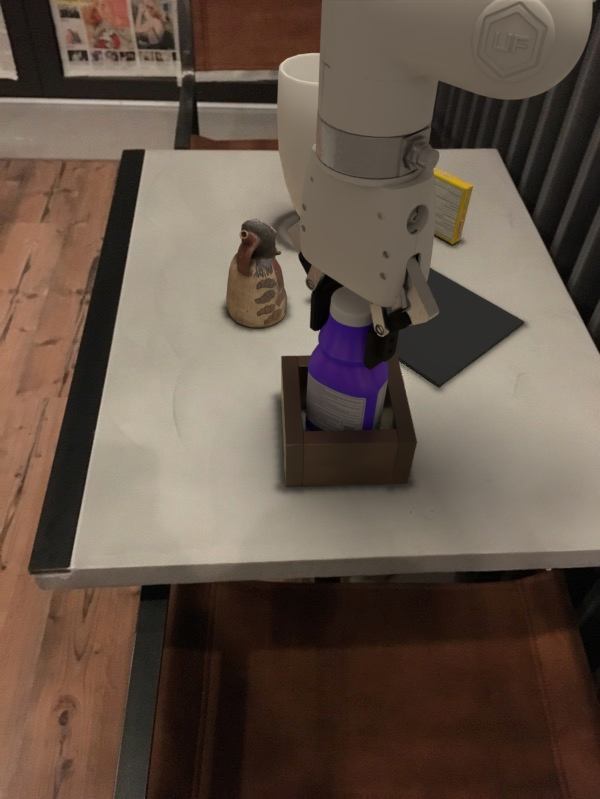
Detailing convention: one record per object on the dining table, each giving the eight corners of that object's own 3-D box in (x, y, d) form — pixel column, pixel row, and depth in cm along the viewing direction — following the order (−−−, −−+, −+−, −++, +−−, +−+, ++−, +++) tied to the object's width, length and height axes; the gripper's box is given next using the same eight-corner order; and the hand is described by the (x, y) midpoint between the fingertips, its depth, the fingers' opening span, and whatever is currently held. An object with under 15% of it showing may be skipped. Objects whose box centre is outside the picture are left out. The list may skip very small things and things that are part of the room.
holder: (390, 395, 73) (397, 353, 68) (407, 483, 65) (417, 442, 60) (281, 397, 72) (281, 355, 68) (285, 486, 64) (285, 445, 60)
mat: (523, 323, 81) (524, 321, 81) (438, 387, 74) (439, 384, 73) (397, 251, 91) (397, 249, 91) (310, 300, 83) (310, 298, 83)
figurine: (298, 305, 83) (300, 217, 74) (263, 336, 79) (261, 247, 70) (251, 284, 85) (248, 197, 77) (215, 313, 81) (207, 225, 73)
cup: (323, 203, 99) (331, 45, 84) (365, 238, 93) (383, 74, 78) (261, 223, 95) (258, 61, 80) (301, 260, 89) (306, 93, 74)
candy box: (462, 240, 93) (475, 184, 88) (452, 246, 92) (464, 190, 87) (377, 193, 102) (383, 139, 96) (367, 197, 101) (373, 143, 95)
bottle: (386, 435, 69) (410, 295, 56) (359, 472, 65) (378, 333, 53) (324, 406, 71) (333, 266, 59) (295, 441, 68) (298, 300, 55)
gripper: (510, 169, 44) (457, 373, 57) (322, 85, 52) (313, 279, 65) (436, 210, 40) (397, 418, 53) (246, 112, 48) (253, 312, 61)
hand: (351, 340), depth 59 cm, fingers closed on bottle, 5 cm apart
